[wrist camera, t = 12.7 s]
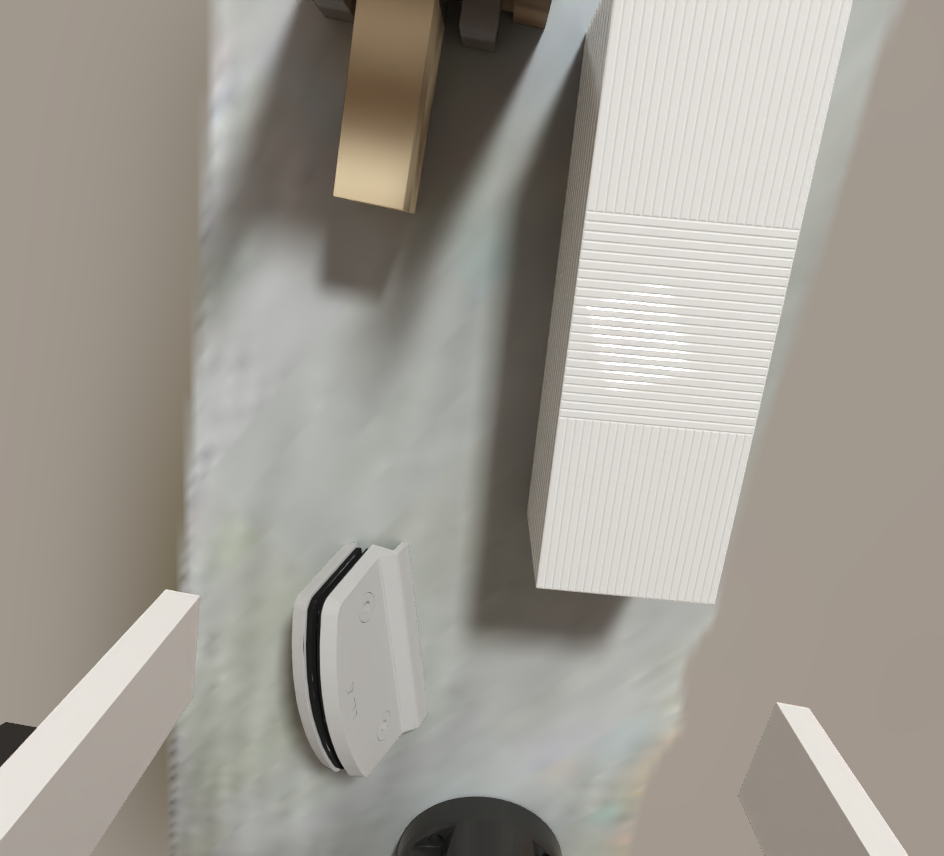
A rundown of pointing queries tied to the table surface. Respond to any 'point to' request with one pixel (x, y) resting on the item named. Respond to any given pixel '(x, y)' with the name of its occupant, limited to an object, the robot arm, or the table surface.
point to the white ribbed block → (672, 283)
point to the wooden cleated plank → (466, 17)
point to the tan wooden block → (389, 101)
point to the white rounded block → (358, 657)
